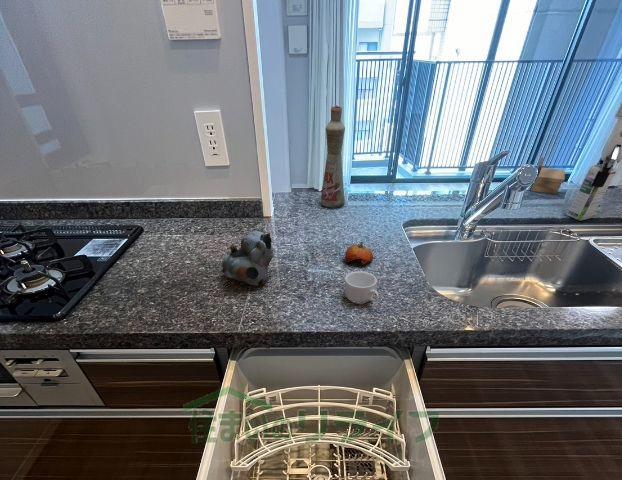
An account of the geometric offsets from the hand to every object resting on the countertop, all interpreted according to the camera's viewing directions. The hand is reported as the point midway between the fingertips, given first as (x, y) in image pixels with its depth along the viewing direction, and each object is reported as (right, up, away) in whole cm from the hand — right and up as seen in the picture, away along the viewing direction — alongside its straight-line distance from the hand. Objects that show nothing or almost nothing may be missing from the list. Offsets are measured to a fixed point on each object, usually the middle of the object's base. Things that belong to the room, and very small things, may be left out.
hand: (596, 181), depth 116 cm
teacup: (-79, -46, -25) cm, 94 cm away
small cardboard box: (0, +15, +27) cm, 30 cm away
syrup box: (0, -7, +8) cm, 11 cm away
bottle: (-83, +3, +17) cm, 85 cm away
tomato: (-78, -31, -11) cm, 84 cm away
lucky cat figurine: (-108, -37, -17) cm, 116 cm away
